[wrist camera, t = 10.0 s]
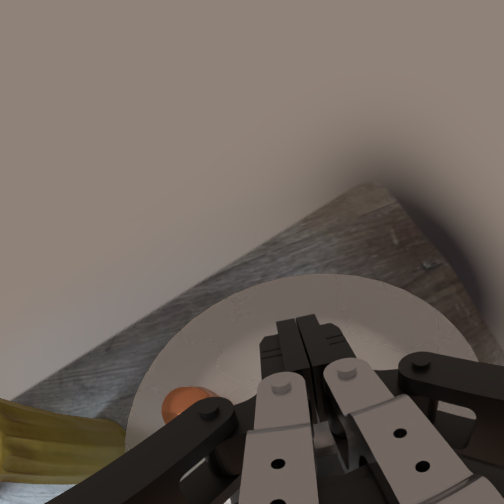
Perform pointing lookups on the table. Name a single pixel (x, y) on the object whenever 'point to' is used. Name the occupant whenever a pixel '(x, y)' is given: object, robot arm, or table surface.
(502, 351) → the table surface
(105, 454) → the vase
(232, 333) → the pot lid
